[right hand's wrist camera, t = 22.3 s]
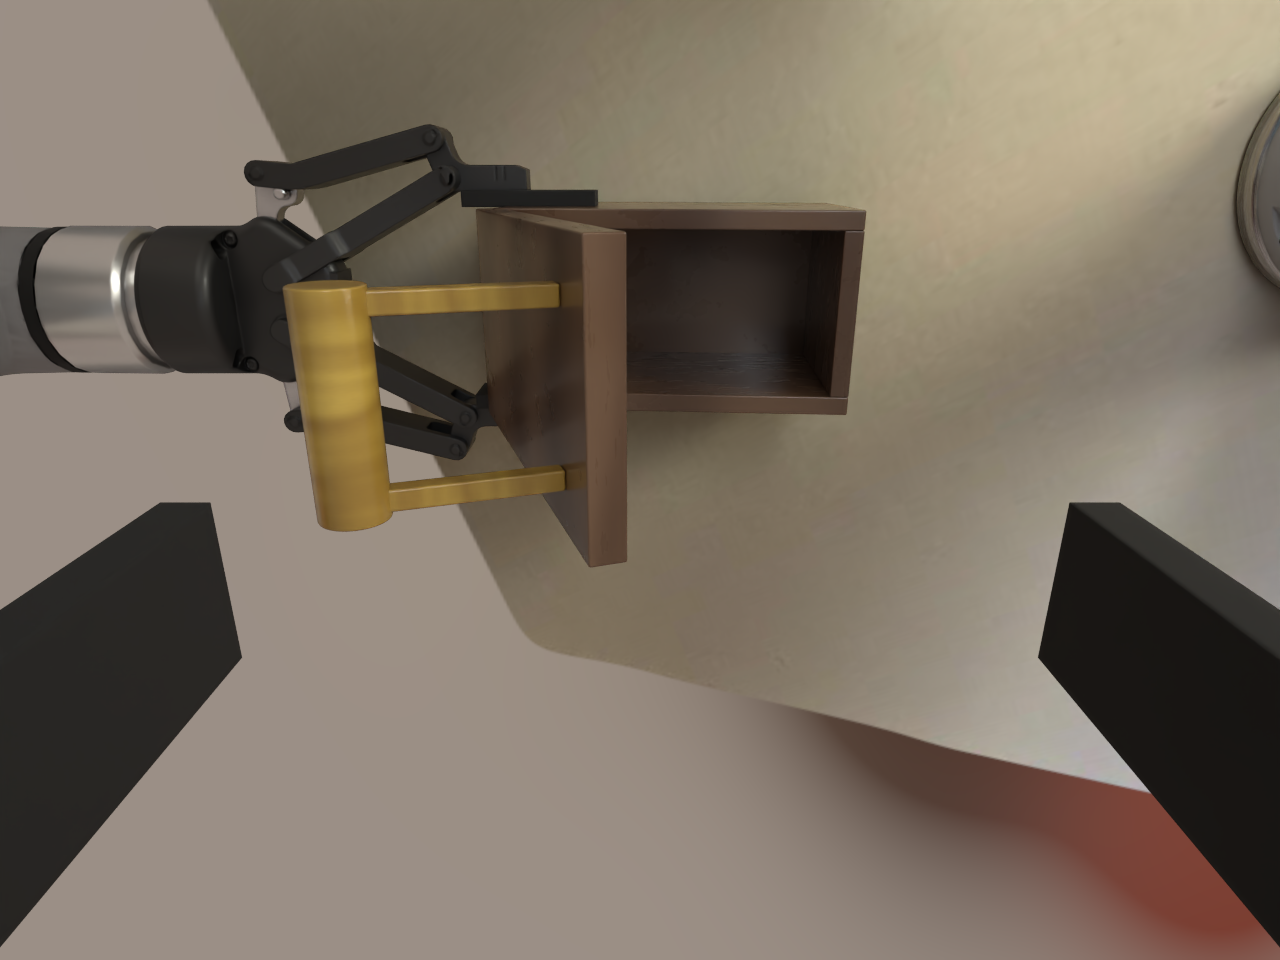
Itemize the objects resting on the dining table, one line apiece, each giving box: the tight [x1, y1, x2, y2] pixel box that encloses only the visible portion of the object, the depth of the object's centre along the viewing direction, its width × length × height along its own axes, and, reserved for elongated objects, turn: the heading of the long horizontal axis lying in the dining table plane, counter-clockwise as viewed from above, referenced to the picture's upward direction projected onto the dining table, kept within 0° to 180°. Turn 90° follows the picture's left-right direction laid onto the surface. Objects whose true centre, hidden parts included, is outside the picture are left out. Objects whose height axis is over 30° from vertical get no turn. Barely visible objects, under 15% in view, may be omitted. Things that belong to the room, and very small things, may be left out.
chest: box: [493, 202, 866, 415], centre depth 43 cm, size 17×10×11 cm, turn 90°
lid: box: [282, 208, 627, 567], centre depth 29 cm, size 18×10×8 cm
